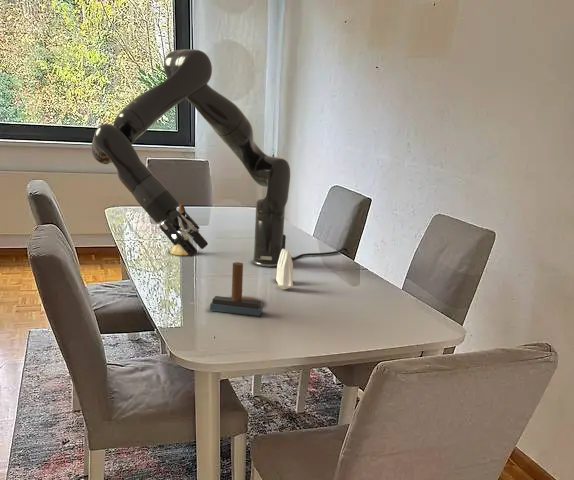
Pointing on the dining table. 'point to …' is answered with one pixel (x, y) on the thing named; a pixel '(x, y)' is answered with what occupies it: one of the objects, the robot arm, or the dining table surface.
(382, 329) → the dining table surface
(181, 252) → the hand bell
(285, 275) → the shaker set
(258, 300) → the brown round coaster
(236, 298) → the sponge wiper
